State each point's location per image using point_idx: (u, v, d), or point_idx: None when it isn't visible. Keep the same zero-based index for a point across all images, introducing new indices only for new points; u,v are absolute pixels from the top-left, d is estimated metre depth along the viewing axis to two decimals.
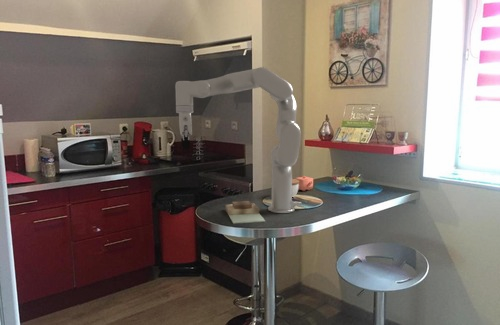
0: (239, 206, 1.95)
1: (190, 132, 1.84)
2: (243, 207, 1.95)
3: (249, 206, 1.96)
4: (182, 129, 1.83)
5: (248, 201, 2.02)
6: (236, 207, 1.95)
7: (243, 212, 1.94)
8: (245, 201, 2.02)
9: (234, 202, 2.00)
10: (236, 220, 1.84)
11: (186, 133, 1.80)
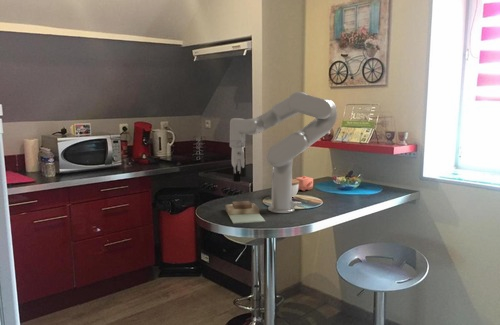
0: (239, 206, 1.95)
1: (243, 165, 2.02)
2: (243, 207, 1.95)
3: (249, 206, 1.96)
4: (235, 167, 2.02)
5: (248, 201, 2.02)
6: (236, 207, 1.95)
7: (243, 212, 1.94)
8: (245, 201, 2.02)
9: (234, 202, 2.00)
10: (236, 220, 1.84)
11: (238, 171, 2.02)
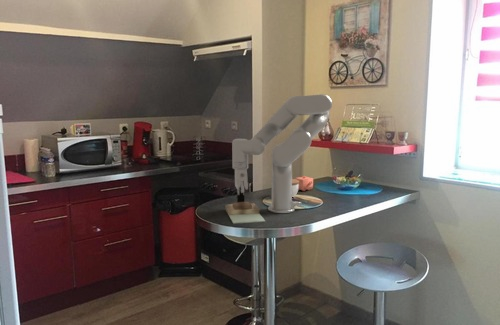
0: (239, 207, 1.93)
1: (246, 187, 1.96)
2: (243, 208, 1.94)
3: (249, 207, 1.94)
4: (239, 189, 1.97)
5: (248, 202, 2.00)
6: (236, 208, 1.93)
7: (243, 212, 1.94)
8: (245, 202, 2.00)
9: (234, 203, 1.98)
10: (236, 220, 1.84)
11: (242, 193, 1.97)
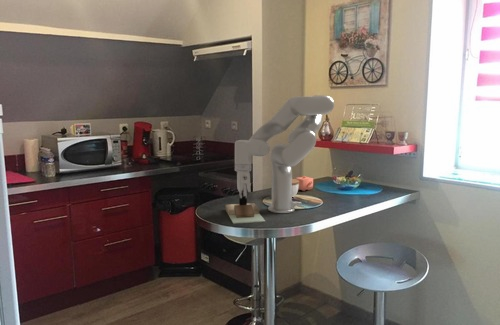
0: (241, 215, 1.88)
1: (249, 190, 1.90)
2: (245, 216, 1.88)
3: (251, 215, 1.89)
4: None
5: (251, 206, 1.93)
6: (238, 216, 1.87)
7: None
8: (247, 205, 1.93)
9: (236, 207, 1.91)
10: (236, 220, 1.84)
11: (244, 196, 1.90)
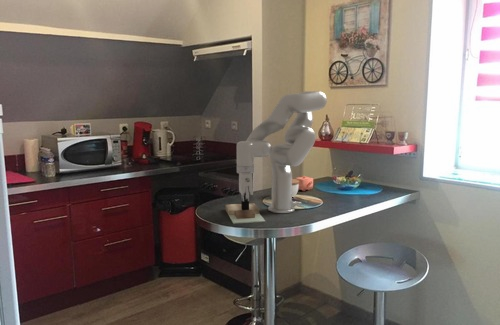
0: (242, 216, 1.86)
1: (251, 193, 1.85)
2: (246, 217, 1.87)
3: (252, 216, 1.87)
4: (243, 194, 1.85)
5: (251, 210, 1.93)
6: (238, 217, 1.86)
7: None
8: (248, 210, 1.93)
9: (236, 211, 1.91)
10: (236, 220, 1.84)
11: (247, 198, 1.85)
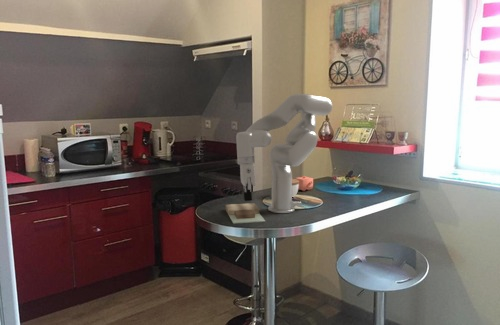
0: (242, 216, 1.86)
1: (253, 183, 1.84)
2: (246, 217, 1.87)
3: (252, 216, 1.87)
4: (245, 185, 1.85)
5: (251, 210, 1.93)
6: (238, 217, 1.86)
7: None
8: (248, 210, 1.93)
9: (236, 211, 1.91)
10: (236, 220, 1.84)
11: (249, 189, 1.85)
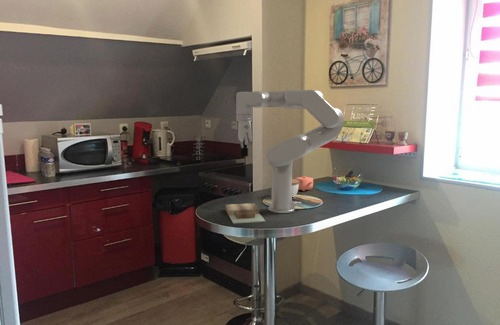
0: (242, 216, 1.86)
1: (250, 139, 1.99)
2: (246, 217, 1.87)
3: (252, 216, 1.87)
4: (242, 141, 2.00)
5: (251, 210, 1.93)
6: (238, 217, 1.86)
7: None
8: (248, 210, 1.93)
9: (236, 211, 1.91)
10: (236, 220, 1.84)
11: (246, 145, 2.00)
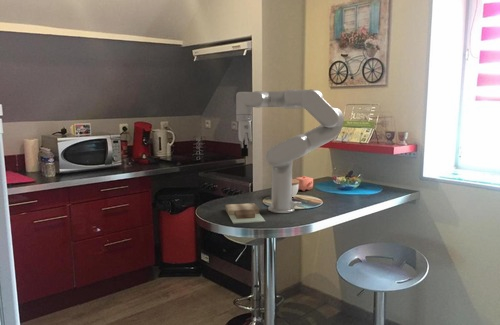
0: (242, 216, 1.86)
1: (250, 139, 1.99)
2: (246, 217, 1.87)
3: (252, 216, 1.87)
4: (242, 141, 2.00)
5: (251, 210, 1.93)
6: (238, 217, 1.86)
7: None
8: (248, 210, 1.93)
9: (236, 211, 1.91)
10: (236, 220, 1.84)
11: (246, 145, 2.00)
